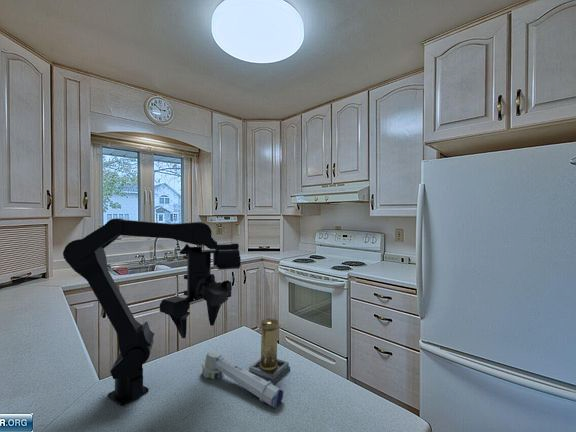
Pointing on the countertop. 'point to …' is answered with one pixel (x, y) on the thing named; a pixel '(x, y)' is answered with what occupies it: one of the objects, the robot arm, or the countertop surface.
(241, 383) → the white long piece
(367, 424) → the countertop surface
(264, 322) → the brass domed cylinder
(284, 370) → the shallow square tray
